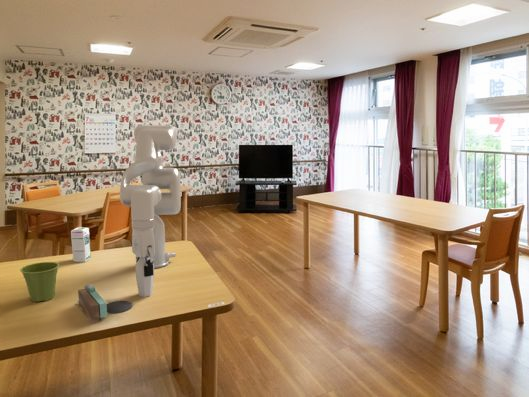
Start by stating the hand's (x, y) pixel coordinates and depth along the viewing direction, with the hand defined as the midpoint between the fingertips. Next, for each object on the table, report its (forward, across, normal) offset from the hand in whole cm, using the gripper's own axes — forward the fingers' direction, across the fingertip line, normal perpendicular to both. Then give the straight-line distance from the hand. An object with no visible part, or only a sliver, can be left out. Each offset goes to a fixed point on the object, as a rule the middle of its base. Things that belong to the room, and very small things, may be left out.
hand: (144, 272), depth 145 cm
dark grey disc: (+8, +5, -12) cm, 15 cm away
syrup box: (+8, -54, -8) cm, 55 cm away
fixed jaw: (+8, +3, -19) cm, 21 cm away
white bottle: (+8, 0, 0) cm, 8 cm away
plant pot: (+8, -18, -30) cm, 36 cm away
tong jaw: (+7, +5, -18) cm, 20 cm away
